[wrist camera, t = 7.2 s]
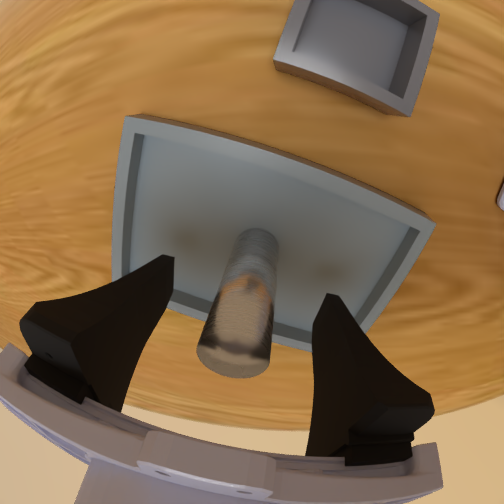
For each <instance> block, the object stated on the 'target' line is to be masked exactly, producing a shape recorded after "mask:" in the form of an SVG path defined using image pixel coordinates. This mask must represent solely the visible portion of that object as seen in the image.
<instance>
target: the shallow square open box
mask: <svg viewBox="0 0 504 504" xmlns="http://www.w3.org/2000/svg"><path fill="white" fill-rule="evenodd" d="M439 16H440V14H439V13H437V12H436V11H434V10H433V9H431V8H430V7H428V6H426V5H425V4H423V3H421V2H420V1H418V0H295V1H294V4H293V6H292V9H291V12H290V14H289V17H288V19H287V22H286V25H285V27H284V30H283V33H282V36H281V38H280V41H279V44H278V46H277V49H276V52H275V55H274V58H273V61H274V65H275V68H276V70H278V71H281V72H285V73H288V74H291V75H294V76H297V77H300V78H303V79H306V80H309V81H312V82H314V83H317V84H320V85H322V86H325V87H328V88H330V89H333V90H335V91H337V92H340V93H342V94H345V95H347V96H349V97H351V98H354V99H356V100H358V101H360V102H362V103H365V104H367V105H369V106H371V107H373V108H375V109H377V110H379V111H381V112H383V113H385V114H387V115H394V116H403V117H411V114H412V111H413V108H414V105H415V102H416V99H417V96H418V93H419V90H420V87H421V84H422V81H423V78H424V75H425V71H426V68H427V64H428V61H429V57H430V54H431V50H432V46H433V42H434V38H435V34H436V30H437V26H438V21H439Z"/></svg>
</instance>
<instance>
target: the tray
mask: <svg viewBox="0 0 504 504" xmlns="http://www.w3.org/2000/svg"><path fill="white" fill-rule="evenodd" d="M435 226H436V223H435V222H434V221H433V220H432V219H431V218H430V217H429V216H428V215H427V214H425V213H424V212H422V211H421V210H419V209H417V208H415V207H413V206H411V205H409V204H407V203H405V202H403V201H401V200H399V199H397V198H395V197H393V196H391V195H389V194H387V193H385V192H383V191H381V190H379V189H376V188H374V187H372V186H370V185H368V184H365V183H363V182H361V181H359V180H356V179H354V178H352V177H349V176H347V175H345V174H342V173H340V172H337V171H335V170H333V169H330V168H328V167H325V166H323V165H320V164H317V163H315V162H312V161H309V160H307V159H304V158H301V157H299V156H296V155H293V154H290V153H287V152H284V151H282V150H279V149H276V148H273V147H270V146H267V145H263V144H260V143H257V142H254V141H251V140H247V139H244V138H241V137H237V136H234V135H230V134H227V133H223V132H219V131H215V130H212V129H208V128H204V127H200V126H196V125H191V124H187V123H183V122H178V121H174V120H169V119H164V118H159V117H154V116H149V115H143V114H137V115H129V116H125V120H124V125H123V131H122V137H121V143H120V149H119V156H118V164H117V172H116V182H115V192H114V205H113V223H112V282H113V281H116V280H118V279H119V278H121V277H123V276H125V275H127V274H129V273H131V272H133V271H135V270H136V269H138V268H140V267H141V266H143V265H145V264H147V263H148V262H150V261H152V260H153V259H155V258H157V257H158V256H160V255H162V254H164V255H168V256H172V257H175V262H174V290H173V293H172V296H171V298H170V301H169V303H168V305H167V308H168V309H171V310H174V311H176V312H179V313H182V314H185V315H188V316H191V317H193V318H196V319H199V320H202V321H205V322H206V320H207V317H208V314H209V312H210V309H211V306H212V303H213V301H214V298H215V295H216V292H217V290H218V287H219V284H220V282H221V279H222V276H223V274H224V271H225V268H226V265H227V263H228V260H229V257H230V255H231V252H232V250H233V247H234V244H235V242H236V239H237V237H238V236H239V235H240V234H241V233H242V232H243V231H245V230H247V229H251V228H261V229H265V230H267V231H269V232H270V233H272V234H273V235H274V236H275V238H276V239H277V241H278V243H279V261H278V274H277V287H276V299H275V310H274V321H273V332H272V342H274V343H278V344H281V345H285V346H289V347H293V348H297V349H300V350H304V351H309V352H312V343H311V342H312V325H313V322H314V320H315V317H316V315H317V313H318V311H319V309H320V307H321V304H322V302H323V300H324V298H325V296H326V293H330V294H335V295H339V296H340V298H341V299H342V301H343V302H344V304H345V305H346V307H347V308H348V310H349V311H350V313H351V314H352V316H353V317H354V319H355V320H356V322H357V323H358V325H359V326H360V328H361V329H362V330H363V332H364V333H365V334H366V332H367V331H368V330H369V328H370V327H371V326H372V325H373V323H374V322H375V321H376V319H377V318H378V316H379V315H380V314H381V312H382V311H383V310H384V308H385V307H386V305H387V304H388V303H389V301H390V300H391V298H392V297H393V295H394V294H395V292H396V291H397V290H398V288H399V287H400V285H401V283H402V282H403V280H404V279H405V277H406V276H407V274H408V273H409V271H410V269H411V268H412V266H413V265H414V263H415V261H416V260H417V258H418V256H419V255H420V253H421V251H422V250H423V248H424V246H425V244H426V243H427V241H428V239H429V237H430V235H431V234H432V232H433V230H434V228H435Z"/></svg>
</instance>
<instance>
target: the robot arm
mask: <svg viewBox="0 0 504 504" xmlns="http://www.w3.org/2000/svg"><path fill="white" fill-rule="evenodd" d="M497 205H498V206H499V207H500V208H501V209H502V210H503V211H504V184H503V186H502V189H501V191H500V194H499V196H498V199H497ZM174 262H175V257H172V256H168V255H164V254H162V255H160V256H158V257H157V258H155V259H153V260H152V261H150V262H148V263H147V264H145V265H143V266H141V267H140V268H138V269H136V270H135V271H133V272H131V273H129V274H127V275H125V276H123V277H121V278H119V279H118V280H116V281H113V282H111V283H109V284H107V285H104V286H102V287H99V288H97V289H94V290H91V291H88V292H85V293H82V294H78V295H75V296H71V297H66V298H61V299H56V300H49V301H41V302H36V303H35V304H34V305H33V306H32V307H31V308H30V310H29V311H28V312H27V313H26V314H25V315H24V316H23V317H22V319H21V320H20V323H19V324H20V330H21V332H22V335H23V337H24V339H25V340H26V342H27V344H28V346H29V348H30V350H31V351H32V355H31V356H30V357H28V356H27V355H26V354H25V353H24V352H22V351H21V350H20V349H18V348H17V347H15V346H14V345H13V344H11V343H8V344H7V345H6V347H5V348H4V349H3V351H2V352H1V353H0V401H1V402H2V404H3V405H4V406H5V407H6V408H7V409H8V410H10V411H11V412H12V413H13V414H14V415H16V416H17V417H18V418H19V419H21V420H22V421H23V422H24V423H26V424H27V425H28V426H29V427H31V428H32V429H34V430H35V431H36V432H38V433H39V434H40V435H42V436H43V437H44V438H46V439H47V440H49V441H50V442H52V443H53V444H55V445H56V446H58V447H59V448H61V449H62V450H64V451H66V452H67V453H69V454H70V455H72V456H74V457H76V458H77V459H79V460H81V461H82V462H84V463H86V464H88V465H89V467H88V470H87V472H86V474H85V477H84V479H83V482H82V485H81V487H80V490H79V492H78V495H77V497H76V500H75V503H74V504H403V503H407V502H410V501H413V500H415V499H418V498H421V497H423V496H425V495H428V494H431V493H433V492H435V491H438V490H440V489H442V488H443V480H442V473H441V466H440V461H439V455H438V450H437V444H436V442H433V443H427V444H421V445H416V446H414V447H411V441H413V440H414V432H415V431H416V430H417V429H419V428H420V427H421V426H423V425H424V424H425V423H427V422H428V421H429V420H430V419H431V418H432V416H433V415H434V412H435V409H434V405H433V402H432V398H431V395H430V393H428V392H427V391H425V390H424V389H422V388H421V387H419V386H418V385H416V384H415V383H413V382H412V381H411V380H409V379H408V378H407V377H406V376H404V375H403V374H402V373H401V372H400V371H398V370H397V369H396V368H395V367H394V366H393V365H392V364H391V363H390V362H389V361H388V360H387V359H386V358H385V357H384V356H383V355H382V354H381V353H380V352H379V351H378V349H377V348H376V347H375V346H374V345H373V344H372V342H371V341H370V340H369V338H368V337H367V336H366V334H365V333H364V332H363V330H362V329H361V328H360V326H359V325H358V323H357V322H356V320H355V319H354V317H353V316H352V314H351V313H350V311H349V310H348V308H347V307H346V305H345V304H344V302H343V301H342V299H341V298H340V296H339V295H335V294H330V293H326V296H325V298H324V300H323V302H322V304H321V307H320V309H319V311H318V313H317V315H316V317H315V320H314V322H313V325H312V342H311V343H312V358H313V373H314V397H313V409H312V418H311V426H310V432H309V439H308V445H307V449H306V454H305V456H297V455H285V454H276V453H268V452H260V451H254V450H247V449H241V448H236V447H231V446H226V445H221V444H217V443H212V442H208V441H204V440H200V439H196V438H192V437H189V436H185V435H181V434H178V433H175V432H172V431H169V430H165V429H162V428H159V427H156V426H154V425H151V424H148V423H145V422H142V421H140V420H137V419H134V418H132V417H129V416H127V415H124V414H122V413H121V410H122V407H123V403H124V400H125V396H126V393H127V390H128V387H129V384H130V381H131V378H132V376H133V373H134V370H135V368H136V365H137V362H138V360H139V358H140V355H141V353H142V350H143V348H144V346H145V344H146V342H147V340H148V339H149V337H150V335H151V333H152V332H153V330H154V328H155V327H156V325H157V323H158V322H159V320H160V318H161V316H162V315H163V313H164V311H165V309H166V308H167V305H168V303H169V301H170V298H171V296H172V293H173V290H174Z"/></svg>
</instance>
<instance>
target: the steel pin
mask: <svg viewBox="0 0 504 504" xmlns="http://www.w3.org/2000/svg"><path fill="white" fill-rule="evenodd" d="M278 261H279V243H278V241H277V239H276V238H275V236H274V235H273V234H272V233H270V232H269V231H267V230H265V229H261V228H251V229H247V230H245V231H243V232H242V233H241V234H240V235H239V236H238V237H237V239H236V242H235V244H234V247H233V250H232V252H231V255H230V257H229V260H228V263H227V265H226V268H225V271H224V274H223V276H222V279H221V282H220V284H219V287H218V290H217V292H216V295H215V298H214V301H213V303H212V306H211V309H210V312H209V314H208V317H207V320H206V323H205V325H204V328H203V331H202V334H201V337H200V339H199V342H198V345H197V355H198V357H199V359H200V361H201V362H202V363H203V364H204V365H205V366H206V367H207V368H209V369H210V370H212V371H214V372H215V373H218V374H220V375H223V376H227V377H231V378H250V377H254V376H257V375H259V374H261V373H263V372H264V371H265V370H266V369H267V368H268V366H269V363H270V353H271V343H272V332H273V321H274V310H275V299H276V287H277V274H278Z"/></svg>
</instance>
